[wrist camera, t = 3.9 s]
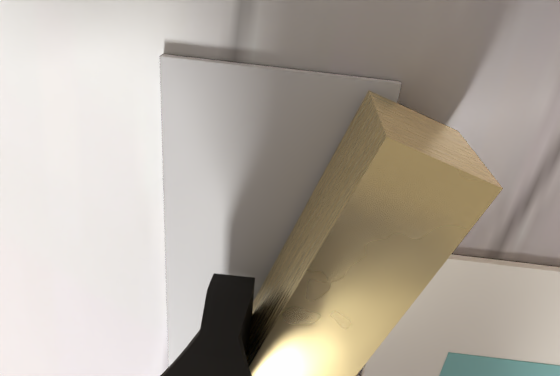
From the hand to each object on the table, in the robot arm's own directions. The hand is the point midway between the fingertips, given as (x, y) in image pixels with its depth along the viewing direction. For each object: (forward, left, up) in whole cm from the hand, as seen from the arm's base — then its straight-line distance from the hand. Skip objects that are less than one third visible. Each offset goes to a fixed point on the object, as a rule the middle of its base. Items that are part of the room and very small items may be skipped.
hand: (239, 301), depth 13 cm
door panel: (-1, -5, -1) cm, 5 cm away
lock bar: (+2, -2, -1) cm, 3 cm away
